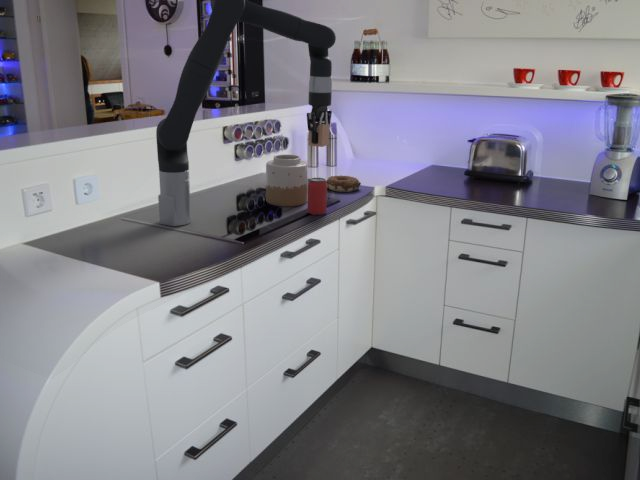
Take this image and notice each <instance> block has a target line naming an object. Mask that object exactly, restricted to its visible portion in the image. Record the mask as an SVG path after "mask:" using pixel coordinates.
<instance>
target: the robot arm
mask: <svg viewBox="0 0 640 480" xmlns="http://www.w3.org/2000/svg"><path fill="white" fill-rule="evenodd" d="M209 4H210V9H211V13H210V16H209V19H208V21H207V24H206V26H205V29H204V30H203V32H202V33H201V35H200V36H199V38H198V39H197V41H196V42H195V44H194V46H193V48H192V49H191V50H190V53H189V55H188V56H187V58H186V62H185V63H184V66H183V69H182V70H181V74H180V77H179V81H178V86H177V88H176V94H175V98H174V100H173V103H172V105H171V107H170V110H169V112H168V113H167V115H166V117H165V118H163V119H161V120H160V121H159V123H158V124H157V126H156V133H155V134H156V135H155V136H156V152H157V161H158V164H157V165H158V171H159V172H158V174H159V176H158V177H159V191H160V192H159V194H158V196H157V199H158V213H159V214H158V217H159V224H160V225H165V226H170V227H174V226H175V227H178V226H186V225H188V224H190V223H191V222H192V217H191V215H192V212H191V211H192V210H191V190H190V185H191V184H190V165H189V164H190V162H189V156H188V140H189V137H190V134H191V131H192V126H193V123H194V121H195V119H196V116H197V112H198V110H199V109H200V106H201V105H202V103H203V101H204V99H205V97H206V95H207V93H208V90H209V89H210V87H211V85H212V83H213V81H214V78H215V76H216V74H217V72H218V68H219V66H220V63H221V61H222V58H223V55H224V54H225V53H224V52H225V50H226V47H227V44H228V41H229V38H230V37H231V35H232V33H233V31H234V30H235V27H236V26H237V24H238V22H239V23H244V24H249V25H251V26H253V27H254V26H255V27H258V28H261V29H263V30H266V31H267V32H270V33H273V34H276V35H279V36H281V37H284V38H287V39H289V40H292V41H295V42H296V41H297V42H302V43H305V44H307V48H308V55H309V59H310V60H309V61H310V64H309V68H310V69H309V81H308V105H309V106H311V112H307V113H306V122H307V130H308V132H309V131H311V132H312V139H311V142H312V143H313V144H317V143H318V131H319V126H320V125H321V124H329V129H330V127H331V121H332V112H333V111H332V110H331V109H328V107H329V106H332V91H333V90H332V89H333V81H332V73H333V72H332V70H333V69H332V68H333V64H332V60H331V59H330V58H329V49H331V48H332V47H333V46H334V45H335V43H336V39H337V38H336V37H337V36H336V33H335V32H334V30H333V28H332V27H329V26H327V25H325V24H323V23H322V24H321V23H317V22H314V21H310V20H307V19H304V18H302V17H299V16H298V15H297V16H296V15H294V14H292V13H288V12H286V11H282V10H278V9H276V8H275V9H274V8H270V7H267V6H263V5H261V4H258V3H254V2H252V1H249V0H210V3H209ZM316 125H317V126H316Z"/></svg>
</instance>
